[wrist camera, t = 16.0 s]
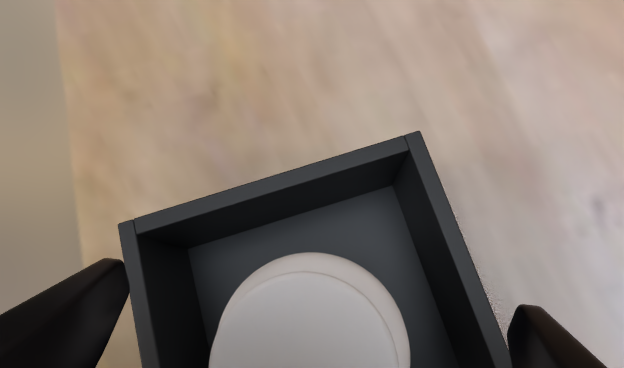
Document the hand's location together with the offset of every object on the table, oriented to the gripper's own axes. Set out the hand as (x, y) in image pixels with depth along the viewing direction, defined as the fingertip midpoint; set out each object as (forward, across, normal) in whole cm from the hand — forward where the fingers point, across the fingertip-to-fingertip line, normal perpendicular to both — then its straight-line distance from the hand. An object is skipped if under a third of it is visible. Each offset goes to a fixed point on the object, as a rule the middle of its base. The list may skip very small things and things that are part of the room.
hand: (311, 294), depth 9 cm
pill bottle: (+6, 0, +8) cm, 9 cm away
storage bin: (+6, 0, +8) cm, 10 cm away
